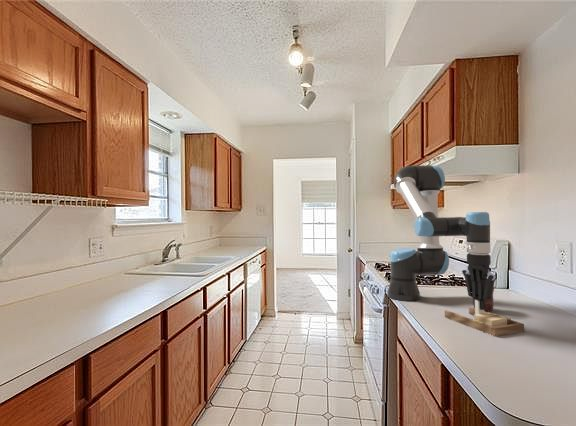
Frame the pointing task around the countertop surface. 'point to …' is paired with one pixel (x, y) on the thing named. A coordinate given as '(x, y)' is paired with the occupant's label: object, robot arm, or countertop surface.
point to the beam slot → (495, 331)
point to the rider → (491, 319)
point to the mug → (489, 303)
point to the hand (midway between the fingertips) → (479, 317)
